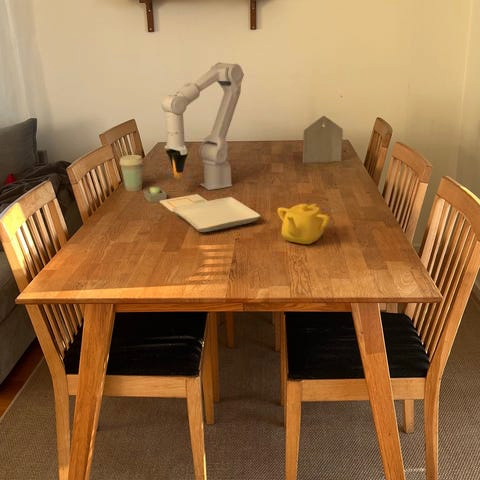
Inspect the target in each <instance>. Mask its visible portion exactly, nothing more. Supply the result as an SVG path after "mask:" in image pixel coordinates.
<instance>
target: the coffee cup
mask: <svg viewBox="0 0 480 480" xmlns="http://www.w3.org/2000/svg"><path fill="white" fill-rule="evenodd" d="M143 164H144V160H143V157H142V156H141V155H138V154H128V155H123V156H121V157H120V159H119V165H120V169H121V174H122V178H123V183H124V187H125V191H126V192H132V193H133V192H140V191H142V189H143Z"/></svg>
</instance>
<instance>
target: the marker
mask: <svg viewBox="0 0 480 480" xmlns="http://www.w3.org/2000/svg"><path fill="white" fill-rule="evenodd" d="M172 159H173V157H172ZM172 170H173V178H174V179H182V178H183V172H181V173H177V172H176V168H175V163H174V159H173V168H172Z"/></svg>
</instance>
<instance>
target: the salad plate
mask: <svg viewBox="0 0 480 480" xmlns="http://www.w3.org/2000/svg"><path fill="white" fill-rule="evenodd" d="M173 211H174V212H173V213H175V214H176V215H177V216H179V218H182V219H183V220H184V221H186V222H187V223H188V224H190V225H191V226H192V227H193V228H194V229H195V230H196V231H198V232H200V233H209V232H213V231H214V230H215V231H219V229H220V230H224V229H228V228H229V227H230V228H233V227H238V225H239V226H243V225H248V224H250V223H253V222H255V221H257V220H259V219H260V217H261V215H260V214H259V212H256V211H254V210H253V209H251V208H250V207H248V206H247V205H245V204H244V203H242V202H241V201H239V200H237V199H235V198H234V197H232V196H228V197H223V198H217V199H212V200H211V199H210V200H207V201H206V202H200V203H196V204H191V205H186V206H181V207H176V208H173ZM242 224H243V225H242Z"/></svg>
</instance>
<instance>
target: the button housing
mask: <svg viewBox="0 0 480 480" xmlns="http://www.w3.org/2000/svg"><path fill="white" fill-rule="evenodd" d="M143 195H144V199H145V200H147V202H148V203H156V202H160V201H161V200H167V198H168V196H167V192H165V191H164V190H163V189H161V188H160V193H159V194H153V195H151V194H150V189H149V190H143Z"/></svg>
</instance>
